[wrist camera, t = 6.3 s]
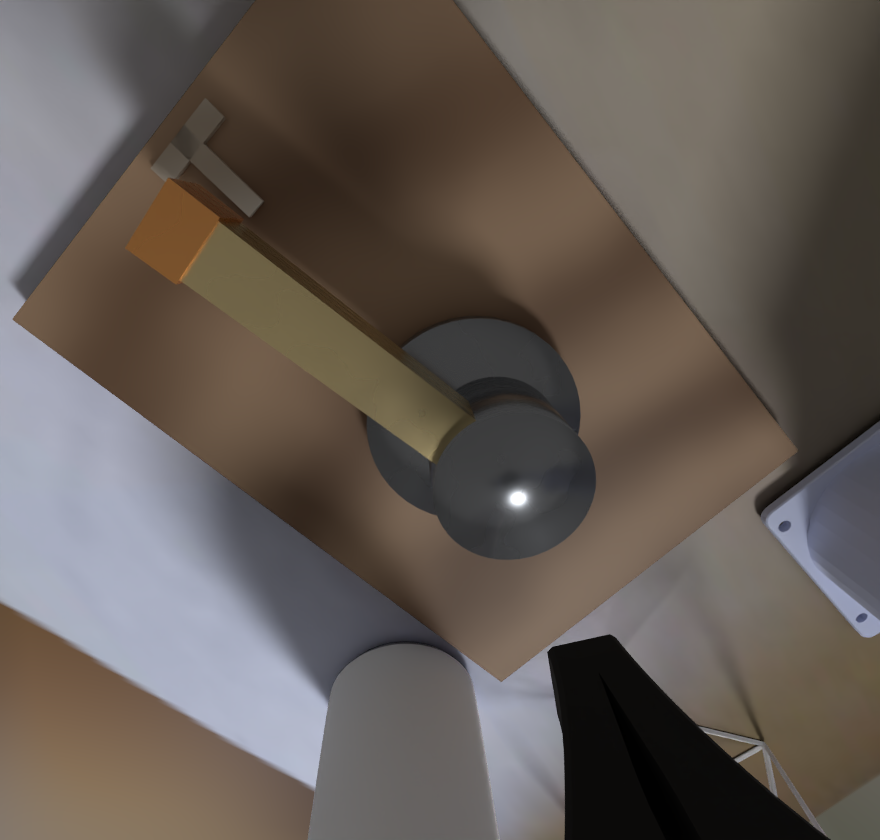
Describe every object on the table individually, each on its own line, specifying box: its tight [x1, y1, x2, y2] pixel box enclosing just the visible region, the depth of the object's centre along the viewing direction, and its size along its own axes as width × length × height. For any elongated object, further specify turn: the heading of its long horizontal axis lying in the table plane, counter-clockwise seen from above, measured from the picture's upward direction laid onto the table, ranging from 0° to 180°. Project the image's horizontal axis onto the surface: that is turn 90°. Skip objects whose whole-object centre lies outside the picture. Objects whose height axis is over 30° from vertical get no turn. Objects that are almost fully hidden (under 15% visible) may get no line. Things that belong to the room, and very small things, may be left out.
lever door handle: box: [125, 178, 596, 560], centre depth 14 cm, size 13×7×4 cm, turn 50°
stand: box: [12, 0, 798, 682], centre depth 17 cm, size 22×15×1 cm
